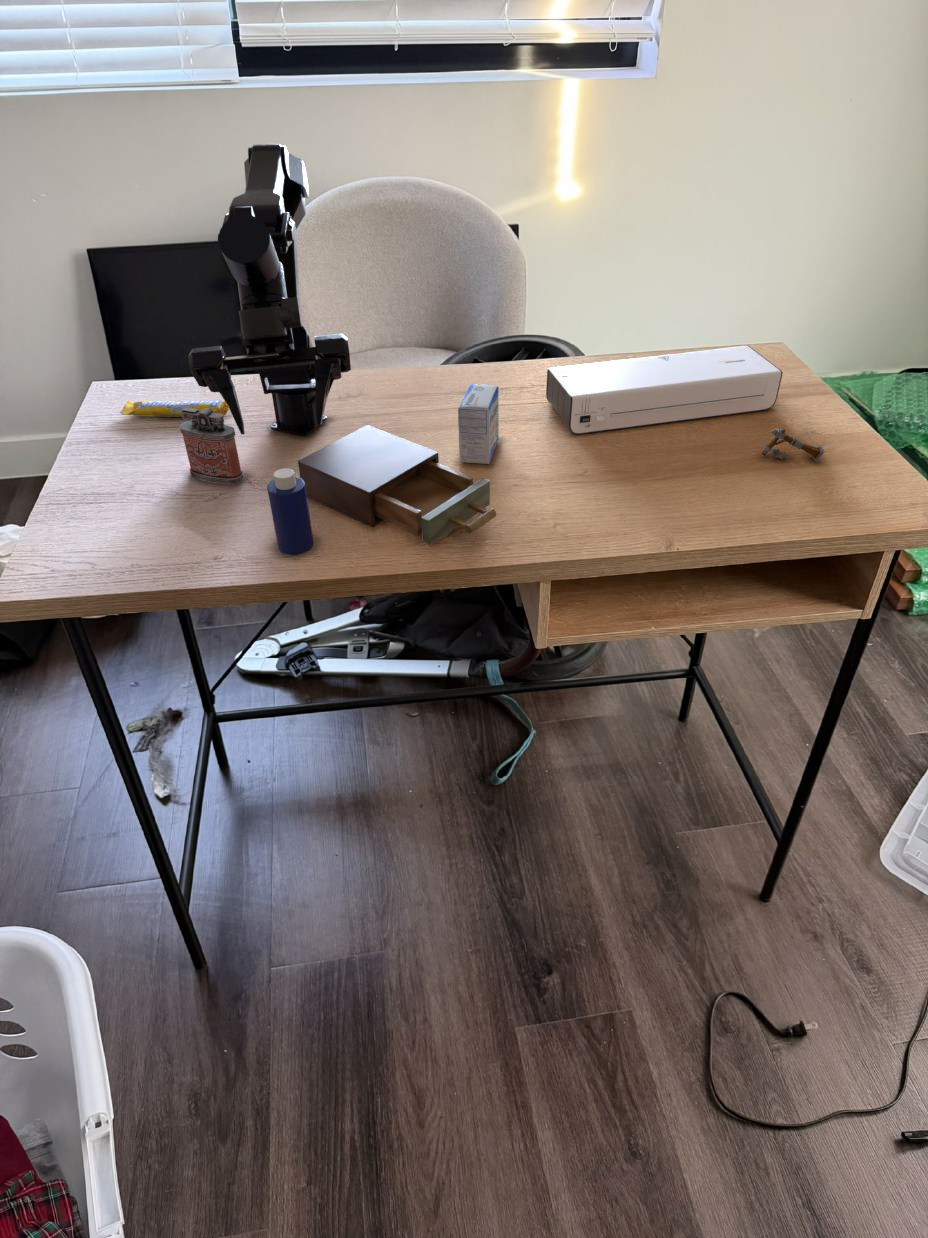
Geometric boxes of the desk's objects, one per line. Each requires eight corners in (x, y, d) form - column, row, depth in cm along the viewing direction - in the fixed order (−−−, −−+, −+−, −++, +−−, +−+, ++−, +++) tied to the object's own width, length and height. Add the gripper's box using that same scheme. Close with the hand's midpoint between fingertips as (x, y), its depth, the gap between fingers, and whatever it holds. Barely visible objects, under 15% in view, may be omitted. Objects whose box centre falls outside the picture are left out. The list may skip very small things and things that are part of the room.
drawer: (513, 514, 110) (513, 490, 108) (453, 556, 103) (452, 531, 101) (419, 475, 118) (418, 452, 116) (358, 512, 111) (355, 488, 109)
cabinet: (439, 486, 118) (438, 452, 114) (372, 527, 110) (369, 492, 106) (370, 457, 124) (367, 424, 121) (302, 494, 116) (297, 460, 113)
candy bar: (234, 406, 138) (232, 395, 137) (229, 418, 135) (226, 407, 133) (129, 408, 138) (126, 397, 137) (122, 420, 135) (118, 409, 133)
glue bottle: (273, 540, 108) (260, 468, 101) (307, 532, 109) (296, 460, 103) (283, 558, 105) (270, 485, 98) (318, 549, 106) (307, 477, 100)
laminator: (740, 380, 143) (747, 344, 139) (778, 412, 133) (787, 374, 129) (545, 404, 137) (547, 367, 133) (570, 439, 127) (573, 400, 124)
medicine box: (489, 465, 122) (489, 408, 116) (458, 463, 122) (457, 406, 117) (498, 439, 128) (499, 384, 122) (469, 437, 128) (468, 382, 123)
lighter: (248, 474, 121) (235, 408, 114) (236, 486, 118) (222, 419, 112) (199, 466, 123) (183, 400, 116) (185, 477, 120) (169, 411, 114)
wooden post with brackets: (755, 448, 123) (774, 422, 120) (802, 470, 124) (822, 444, 121) (757, 454, 121) (777, 428, 118) (805, 476, 123) (825, 450, 120)
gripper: (170, 279, 95) (187, 415, 94) (338, 264, 97) (356, 397, 96) (191, 323, 106) (207, 445, 105) (342, 308, 108) (359, 428, 107)
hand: (281, 428), depth 103 cm, fingers open, 9 cm apart
